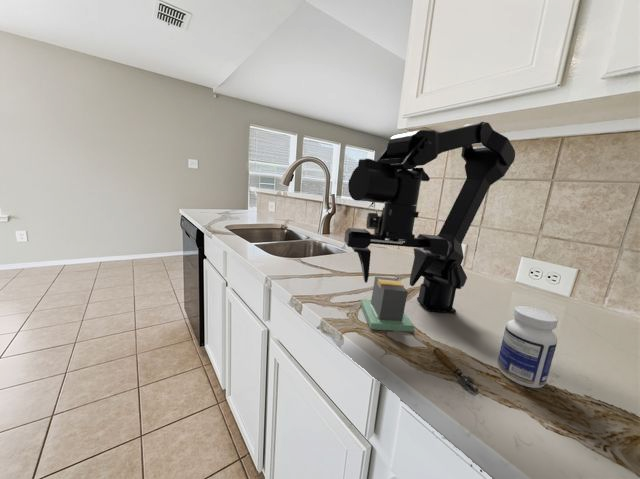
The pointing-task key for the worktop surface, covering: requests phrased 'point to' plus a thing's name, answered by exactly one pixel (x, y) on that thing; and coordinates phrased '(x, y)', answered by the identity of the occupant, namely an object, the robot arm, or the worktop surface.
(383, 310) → the block
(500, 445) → the worktop surface
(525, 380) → the pill bottle
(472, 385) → the can opener
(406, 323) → the board
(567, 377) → the worktop surface
